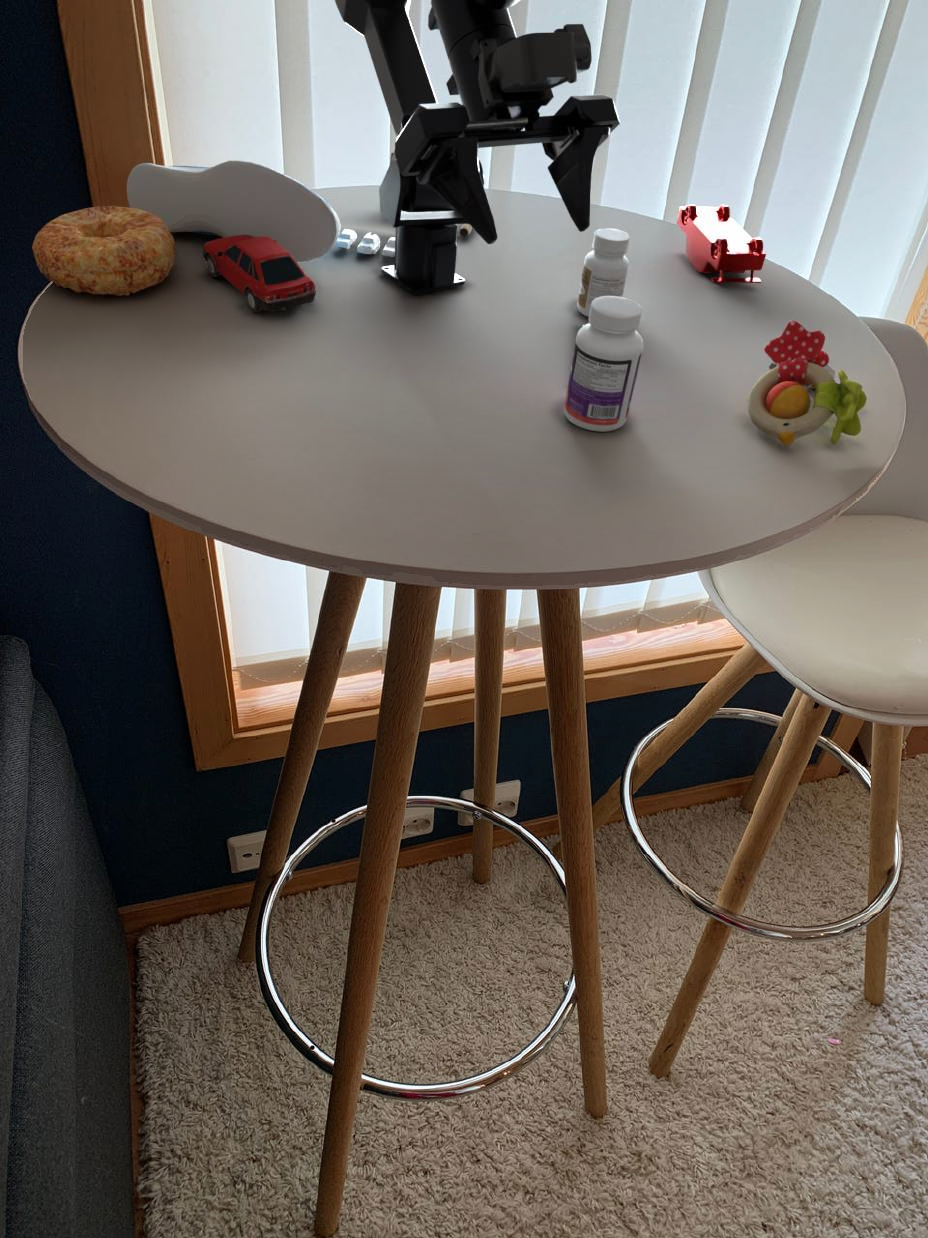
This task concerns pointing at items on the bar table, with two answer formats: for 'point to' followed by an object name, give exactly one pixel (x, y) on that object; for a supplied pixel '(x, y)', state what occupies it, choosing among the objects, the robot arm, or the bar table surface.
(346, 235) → the toy vehicle set
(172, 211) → the shoe
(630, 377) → the pill bottle
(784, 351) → the bird rattle
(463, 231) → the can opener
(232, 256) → the toy car
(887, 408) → the bar table surface
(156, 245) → the bagel
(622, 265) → the pill bottle
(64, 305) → the bar table surface
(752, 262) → the toy car
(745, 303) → the bar table surface
